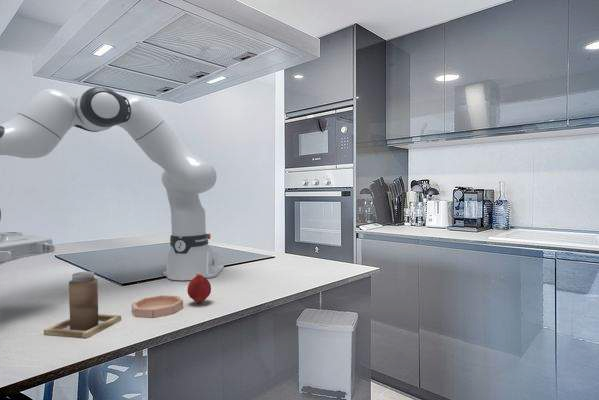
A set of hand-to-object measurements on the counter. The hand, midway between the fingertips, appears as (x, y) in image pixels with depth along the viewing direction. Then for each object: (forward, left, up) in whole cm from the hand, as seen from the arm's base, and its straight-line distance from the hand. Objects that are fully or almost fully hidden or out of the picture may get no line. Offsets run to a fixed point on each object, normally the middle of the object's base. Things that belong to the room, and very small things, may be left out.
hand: (33, 252), depth 78 cm
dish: (-13, +21, -16) cm, 30 cm away
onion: (-19, +29, -16) cm, 38 cm away
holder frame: (0, +12, -16) cm, 20 cm away
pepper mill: (0, +12, -16) cm, 20 cm away
